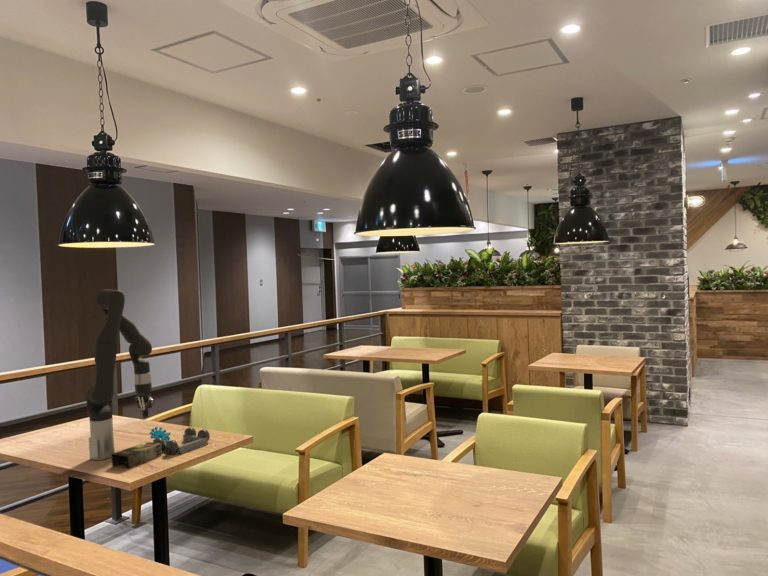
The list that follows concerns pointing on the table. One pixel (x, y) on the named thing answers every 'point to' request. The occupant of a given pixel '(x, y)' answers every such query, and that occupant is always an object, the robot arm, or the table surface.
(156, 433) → the gear
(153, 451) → the dark green hollow block
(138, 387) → the robot arm
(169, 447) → the chassis bay
